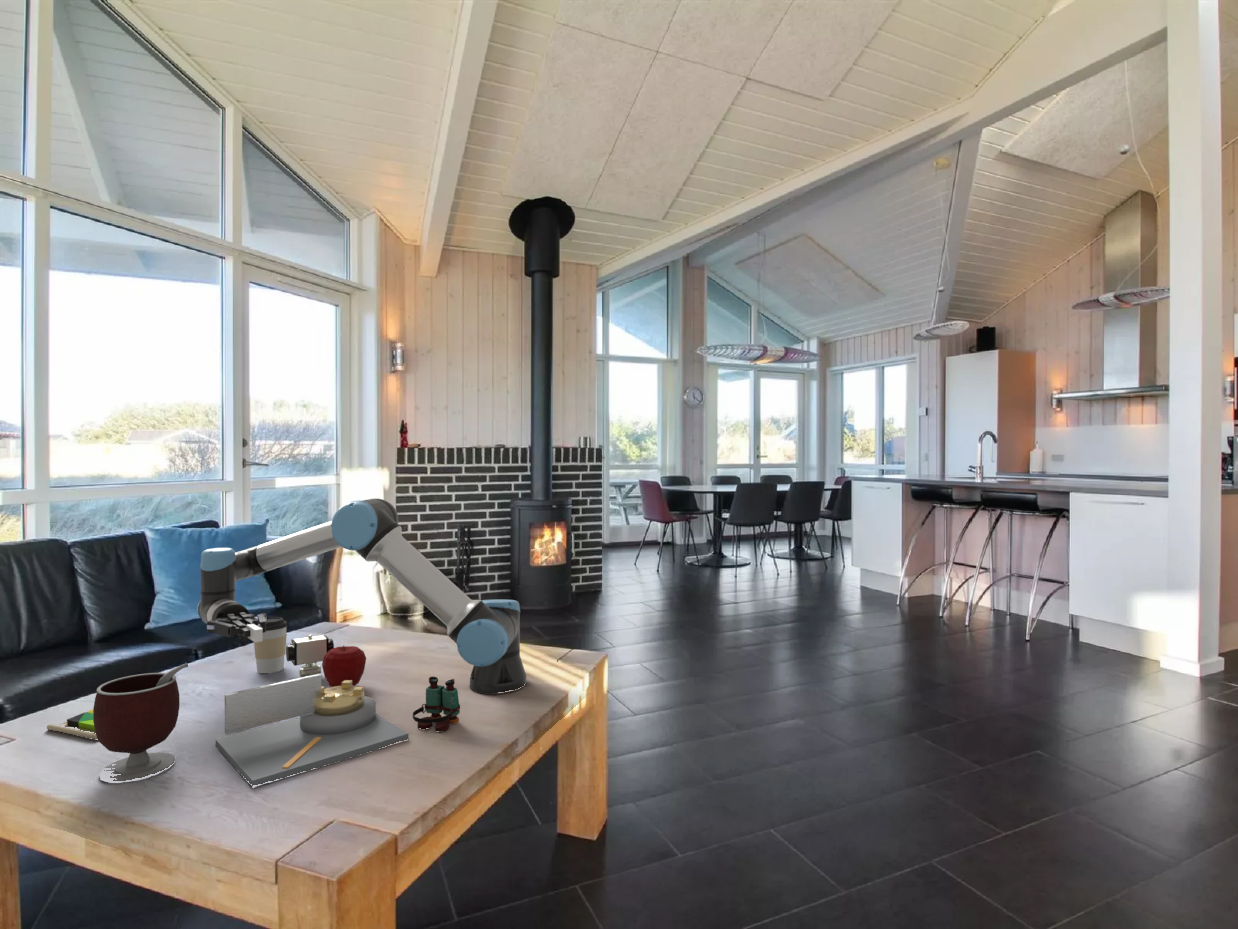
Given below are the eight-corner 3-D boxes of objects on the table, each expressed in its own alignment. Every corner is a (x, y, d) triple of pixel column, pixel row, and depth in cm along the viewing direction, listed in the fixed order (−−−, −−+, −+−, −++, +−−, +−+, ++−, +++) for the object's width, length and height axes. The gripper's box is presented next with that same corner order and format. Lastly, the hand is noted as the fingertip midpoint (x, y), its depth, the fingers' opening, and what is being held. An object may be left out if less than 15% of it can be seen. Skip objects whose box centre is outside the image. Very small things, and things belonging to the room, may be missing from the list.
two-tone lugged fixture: (352, 694, 163) (352, 660, 163) (372, 706, 155) (372, 670, 155) (218, 727, 143) (218, 688, 143) (233, 743, 135) (233, 701, 135)
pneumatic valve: (334, 675, 192) (334, 633, 191) (288, 683, 185) (288, 639, 185) (330, 670, 196) (329, 629, 196) (285, 678, 189) (285, 635, 189)
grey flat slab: (358, 708, 166) (358, 690, 166) (408, 740, 148) (408, 719, 148) (215, 746, 145) (215, 725, 145) (252, 788, 126) (252, 764, 126)
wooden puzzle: (43, 733, 153) (43, 718, 153) (129, 705, 171) (129, 691, 171) (95, 744, 147) (95, 728, 147) (178, 714, 165) (178, 699, 165)
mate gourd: (83, 791, 125) (82, 683, 125) (105, 761, 138) (104, 662, 138) (182, 775, 131) (181, 672, 131) (194, 747, 144) (194, 653, 144)
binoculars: (405, 690, 151) (431, 672, 160) (408, 735, 152) (434, 715, 162) (439, 694, 148) (464, 676, 158) (442, 740, 149) (466, 719, 159)
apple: (329, 698, 173) (329, 653, 173) (316, 688, 181) (316, 644, 181) (372, 689, 181) (372, 645, 181) (357, 679, 189) (357, 637, 189)
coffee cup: (294, 668, 199) (293, 617, 198) (263, 676, 191) (263, 623, 191) (276, 663, 203) (276, 613, 203) (246, 671, 196) (245, 619, 196)
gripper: (257, 627, 170) (290, 647, 153) (197, 637, 161) (225, 658, 144) (257, 598, 170) (290, 613, 153) (197, 605, 161) (225, 623, 144)
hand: (258, 635), depth 148 cm, fingers closed
